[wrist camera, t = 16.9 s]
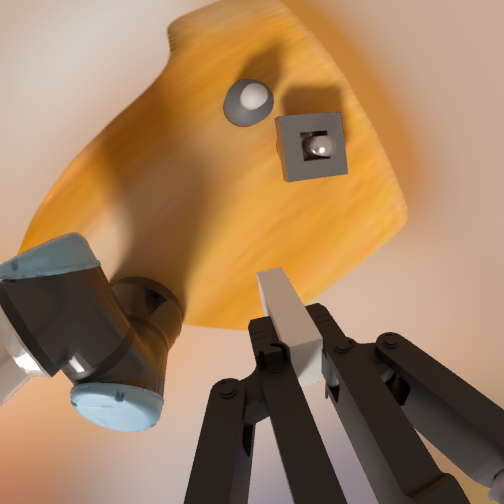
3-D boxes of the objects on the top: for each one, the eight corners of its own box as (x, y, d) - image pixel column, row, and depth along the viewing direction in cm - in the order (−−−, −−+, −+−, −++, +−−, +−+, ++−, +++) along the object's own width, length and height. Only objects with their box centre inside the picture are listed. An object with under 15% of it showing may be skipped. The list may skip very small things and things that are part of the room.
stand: (227, 129, 36) (232, 123, 27) (220, 92, 34) (224, 74, 25) (267, 123, 37) (285, 116, 27) (260, 86, 34) (276, 68, 25)
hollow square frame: (283, 180, 37) (288, 182, 35) (274, 118, 34) (278, 116, 32) (340, 172, 38) (347, 174, 36) (333, 113, 34) (340, 112, 32)
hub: (280, 175, 40) (299, 183, 32) (272, 121, 37) (289, 115, 28) (330, 168, 41) (358, 175, 32) (323, 117, 37) (351, 112, 29)
